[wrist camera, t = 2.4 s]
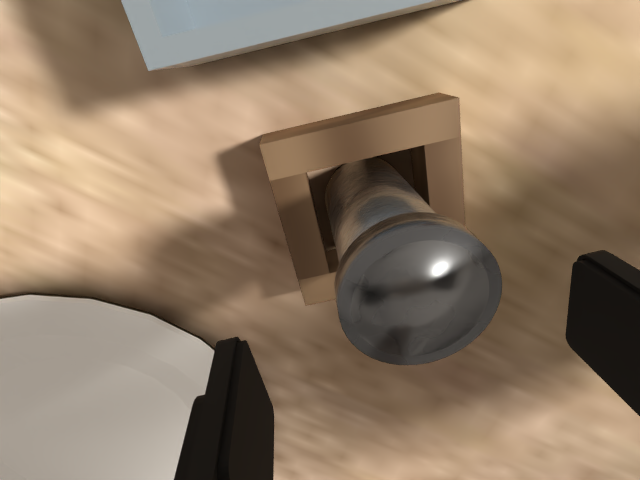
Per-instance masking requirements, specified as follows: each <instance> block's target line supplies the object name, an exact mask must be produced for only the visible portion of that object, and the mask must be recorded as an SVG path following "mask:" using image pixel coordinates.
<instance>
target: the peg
mask: <svg viewBox="0 0 640 480" xmlns="http://www.w3.org/2000/svg"><path fill="white" fill-rule="evenodd" d="M325 204H326V209H327V213H328V217H329V221H330V226H331V230H332V234H333V238H334V243H335V247H336V251H337V255H338V260H339V265H338V268H337V271H336V276H335V297H336V303H337V308H338V313H339V319H340V323H341V326H342V329H343V330H344V332H345V334H346V336H347V338H348V339H349V340H350V342H351V343H352V344H353V345H354V346H355V347H356V348H357V349H359V350H360V351H361V352H363V353H364V354H366V355H368V356H369V357H371V358H373V359H376V360H379V361H382V362H385V363H389V364H397V365H417V364H424V363H429V362H433V361H436V360H439V359H442V358H445V357H447V356H449V355H451V354H454V353H456V352H457V351H459V350H461V349H462V348H464V347H465V346H467V345H468V344H469V343H471V342H472V341H473V340H474V339H475V338H477V337H478V336H479V335H480V334H481V333H482V331H483V330H484V329H485V328H486V327H487V325H488V324H489V323H490V321H491V320H492V318H493V316H494V314H495V312H496V310H497V307H498V305H499V302H500V298H501V292H502V278H501V273H500V269H499V266H498V264H497V261H496V259H495V258H494V256H493V255H492V253H491V252H490V251H489V250H488V249H487V248H486V247H485V245H484V244H483V243H481V242H480V241H479V240H478V239H477V238H476V237H475V236H474V235H473V234H472V233H471V232H470V231H469V230H468V229H467V228H466V227H465V226H463V225H462V224H461V223H459V222H457V221H456V220H454V219H452V218H449V217H447V216H444V215H440V214H436V213H435V212H434V211H433V209H432V208H431V207H430V206H429V205H428V204H427V203H426V202H425V201H424V200H423V199H422V198H421V196H420V195H419V194H418V193H417V192H416V191H415V190H414V189H413V188H412V187H411V186H410V185H409V183H408V182H407V181H406V180H405V179H404V178H403V177H402V176H401V175H400V174H399V173H398V172H397V170H396V169H395V168H394V167H393V166H391V165H390V164H389V163H387V162H385V161H384V160H381V159H378V158H373V157H371V158H366V159H362V160H358V161H353V162H349V163H345V164H343V165H342V166H341V167H340V168H338V169H337V170H336V171H335V172H334V174H333V175H332V176H331V178H330V180H329V182H328V184H327V187H326V192H325Z"/></svg>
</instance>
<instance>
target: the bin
mask: <svg viewBox="0 0 640 480" xmlns="http://www.w3.org/2000/svg"><path fill="white" fill-rule="evenodd" d="M457 1H461V0H121V2H122V4H123V7H124V9H125V12H126V15H127V17H128V20H129V22H130V25H131V27H132V30H133V33H134V35H135V38H136V40H137V43H138V46H139V48H140V51H141V53H142V56H143V58H144V61H145V64H146V66H147V69H148V71H153V70H162V69H171V68H180V67H189V66H195V65H199V64H203V63H207V62H211V61H215V60H220V59H224V58H228V57H232V56H236V55H240V54H244V53H248V52H252V51H256V50H260V49H265V48H269V47H273V46H277V45H281V44H285V43H289V42H293V41H297V40H301V39H305V38H310V37H314V36H318V35H322V34H326V33H330V32H334V31H338V30H342V29H346V28H350V27H355V26H359V25H363V24H367V23H371V22H375V21H379V20H383V19H387V18H391V17H395V16H399V15H404V14H408V13H412V12H416V11H420V10H424V9H428V8H432V7H436V6H440V5H444V4H449V3H453V2H457Z"/></svg>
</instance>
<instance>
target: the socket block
mask: <svg viewBox="0 0 640 480" xmlns="http://www.w3.org/2000/svg"><path fill="white" fill-rule="evenodd" d="M259 146H260V149H261V153H262V156H263V160H264V163H265V167H266V170H267V174H268V177H269V181H270V184H271V188H272V191H273V195H274V198H275V201H276V205H277V208H278V212H279V215H280V219H281V222H282V226H283V229H284V233H285V236H286V240H287V243H288V246H289V250H290V253H291V257H292V260H293V264H294V267H295V271H296V274H297V278H298V281H299V285H300V288H301V292H302V295H303V298H304V302H305V305H306V306H307V305H312V304H316V303H321V302H325V301H330V300H334V299H336V297H335V276H336V271H337V268H338V265H339V260H338V255H337V251H336V249H334V250H329V251H325V247H324V242H323V238H322V234H321V230H320V226H319V222H318V217H317V213H316V209H315V205H314V201H313V197H312V192H311V188H310V184H309V180H308V176H307V172H310V171H315V170H319V169H323V168H328V167H332V166H336V165H341V164H345V163H349V162H353V161H358V160H362V159H366V158H371V157H375V156H379V155H383V154H388V153H392V152H396V151H401V150H405V149H409V148H410V149H411V158H412V167H413V177H414V186H415V191H416V192H417V193H418V194H419V195H420V196H421V198H422V199H423V200H424V201H425V202H426V203H427V204H428V205H429V206H430V207H431V208H432V209H433V211H434V212H435V213H436V214H440V215H444V216H447V217H449V218H452V219H454V220H456V221H457V222H459V223H461V224H462V225H463V226H465V212H464V191H463V169H462V148H461V126H460V105H459V98H458V97H454V96H450V95H446V94H442V93H436V94H431V95H427V96H423V97H419V98H415V99H410V100H406V101H402V102H398V103H393V104H389V105H385V106H381V107H377V108H372V109H368V110H364V111H360V112H355V113H351V114H347V115H343V116H339V117H334V118H330V119H326V120H322V121H318V122H313V123H309V124H305V125H301V126H296V127H292V128H288V129H284V130H280V131H275V132H271V133H267V134H263V136H262V139H261V141H260V144H259Z"/></svg>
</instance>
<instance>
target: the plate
mask: <svg viewBox="0 0 640 480" xmlns="http://www.w3.org/2000/svg"><path fill="white" fill-rule="evenodd" d="M214 351H215V349H214V348H213V347H212V346H211V345H210V344H208V343H207V342H206V341H205V340H203V339H202V338H201V337H199V336H197V335H195V334H193V333H191V332H189V331H187V330H185V329H183V328H181V327H179V326H177V325H175V324H173V323H171V322H169V321H167V320H165V319H163V318H161V317H159V316H157V315H155V314H153V313H149V312H146V311H142V310H138V309H135V308H131V307H127V306H123V305H120V304H116V303H112V302H109V301H105V300H101V299H97V298H94V297H80V296H65V295H51V294H36V293H29V294H22V295H15V296H8V297H2V298H0V480H174V477H175V473H176V469H177V465H178V461H179V457H180V453H181V449H182V445H183V441H184V437H185V433H186V429H187V425H188V421H189V417H190V413H191V409H192V405H193V402H194V399H195V398H196V397H197V396H200V395H204V394H205V392H206V387H207V383H208V378H209V374H210V369H211V365H212V360H213V356H214Z"/></svg>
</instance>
